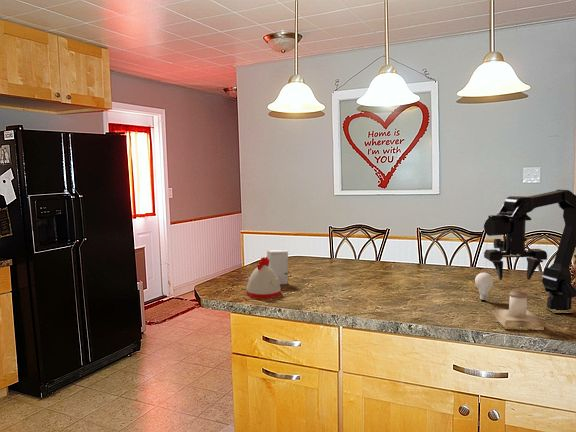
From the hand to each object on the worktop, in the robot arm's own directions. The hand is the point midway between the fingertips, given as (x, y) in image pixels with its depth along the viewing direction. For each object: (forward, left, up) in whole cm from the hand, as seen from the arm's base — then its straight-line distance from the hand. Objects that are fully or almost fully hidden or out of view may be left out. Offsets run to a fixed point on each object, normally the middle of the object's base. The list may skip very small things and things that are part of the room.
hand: (514, 279), depth 158 cm
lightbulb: (+4, -18, -13) cm, 22 cm away
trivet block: (+2, +8, -13) cm, 15 cm away
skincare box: (+85, -42, -13) cm, 96 cm away
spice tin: (+2, +8, -10) cm, 13 cm away
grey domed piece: (+89, -25, -13) cm, 93 cm away
